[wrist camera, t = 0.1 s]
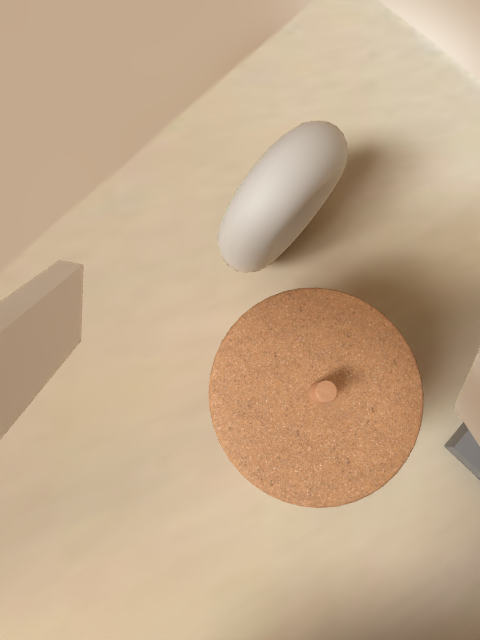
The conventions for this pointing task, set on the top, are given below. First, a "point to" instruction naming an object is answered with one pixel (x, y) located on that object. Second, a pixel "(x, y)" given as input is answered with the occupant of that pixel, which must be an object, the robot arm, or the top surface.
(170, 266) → the top surface
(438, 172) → the top surface
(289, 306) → the lidded jar
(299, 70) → the top surface
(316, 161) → the grey piece
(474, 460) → the rubber mat
